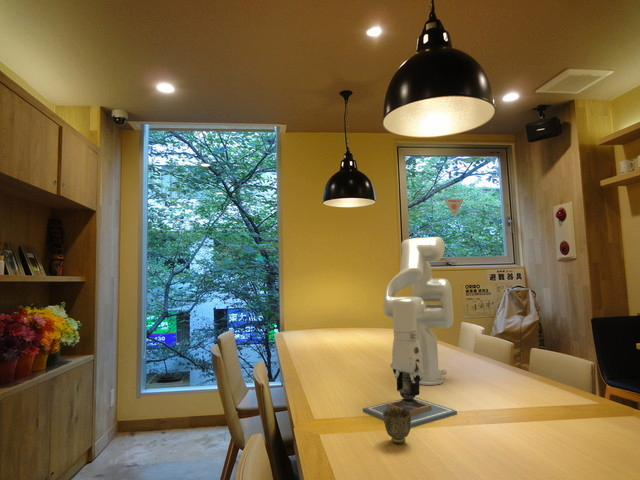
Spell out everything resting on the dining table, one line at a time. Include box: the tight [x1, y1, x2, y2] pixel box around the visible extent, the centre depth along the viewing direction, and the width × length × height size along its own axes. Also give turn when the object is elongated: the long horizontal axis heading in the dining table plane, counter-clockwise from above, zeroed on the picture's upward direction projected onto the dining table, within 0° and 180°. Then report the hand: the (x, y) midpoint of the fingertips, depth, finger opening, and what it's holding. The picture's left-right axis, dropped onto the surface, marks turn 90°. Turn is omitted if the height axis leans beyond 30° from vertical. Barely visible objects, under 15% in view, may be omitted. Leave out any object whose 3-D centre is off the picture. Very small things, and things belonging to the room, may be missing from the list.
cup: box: [383, 408, 411, 446], centre depth 109 cm, size 8×7×8 cm
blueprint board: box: [362, 396, 458, 429], centre depth 132 cm, size 22×20×2 cm
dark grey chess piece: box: [398, 372, 417, 404], centre depth 133 cm, size 6×6×12 cm
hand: (408, 392), depth 133 cm, fingers closed on dark grey chess piece, 5 cm apart
